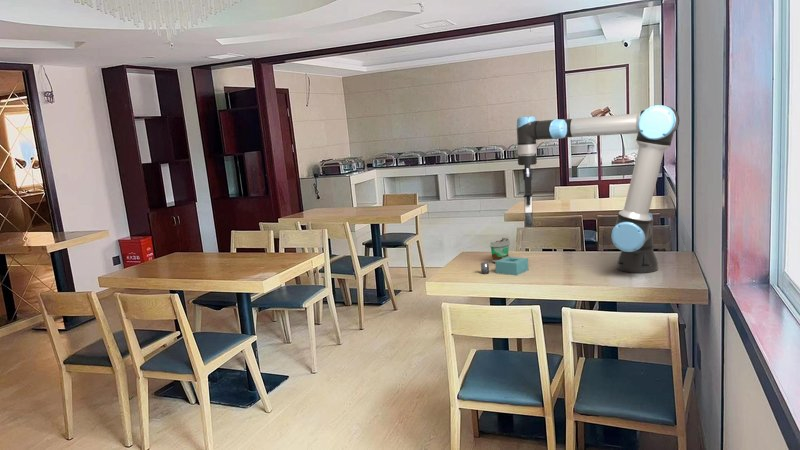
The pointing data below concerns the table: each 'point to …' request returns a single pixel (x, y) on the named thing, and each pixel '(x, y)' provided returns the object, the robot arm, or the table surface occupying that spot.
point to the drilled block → (511, 265)
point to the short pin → (484, 268)
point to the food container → (499, 249)
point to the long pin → (528, 216)
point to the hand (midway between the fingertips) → (528, 211)
